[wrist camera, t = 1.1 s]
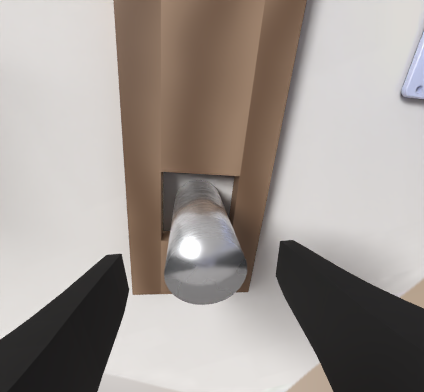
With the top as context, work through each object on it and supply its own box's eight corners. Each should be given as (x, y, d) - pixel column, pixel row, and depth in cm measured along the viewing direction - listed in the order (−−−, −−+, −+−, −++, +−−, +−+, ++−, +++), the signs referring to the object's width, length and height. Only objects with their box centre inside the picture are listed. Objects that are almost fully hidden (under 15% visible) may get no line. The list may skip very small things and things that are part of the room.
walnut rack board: (356, -330, 8) (390, -420, 7) (244, 279, 20) (248, 292, 18) (97, -448, 7) (75, -588, 6) (136, 281, 18) (132, 294, 17)
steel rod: (222, 181, 16) (253, 239, 8) (217, 222, 17) (240, 303, 10) (175, 178, 15) (164, 237, 8) (174, 221, 17) (163, 305, 9)
